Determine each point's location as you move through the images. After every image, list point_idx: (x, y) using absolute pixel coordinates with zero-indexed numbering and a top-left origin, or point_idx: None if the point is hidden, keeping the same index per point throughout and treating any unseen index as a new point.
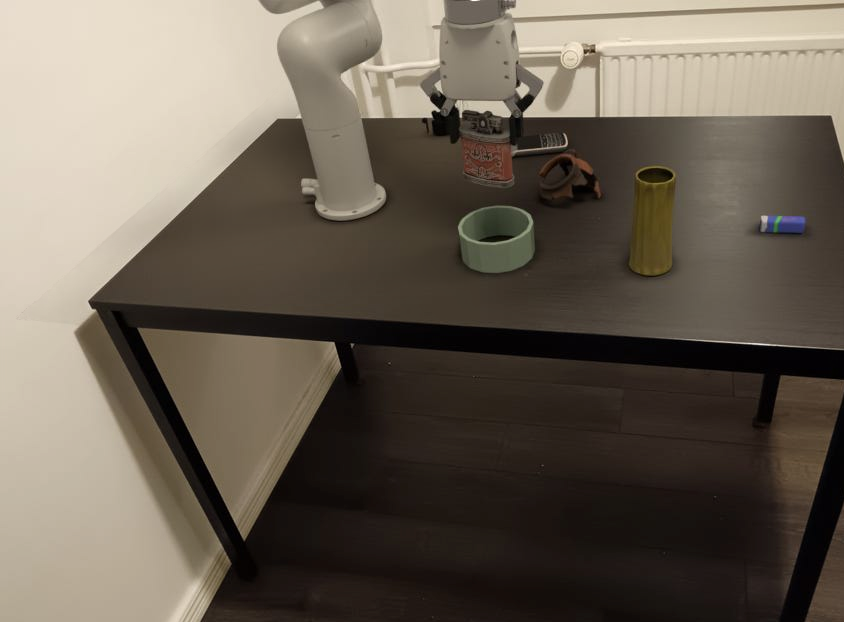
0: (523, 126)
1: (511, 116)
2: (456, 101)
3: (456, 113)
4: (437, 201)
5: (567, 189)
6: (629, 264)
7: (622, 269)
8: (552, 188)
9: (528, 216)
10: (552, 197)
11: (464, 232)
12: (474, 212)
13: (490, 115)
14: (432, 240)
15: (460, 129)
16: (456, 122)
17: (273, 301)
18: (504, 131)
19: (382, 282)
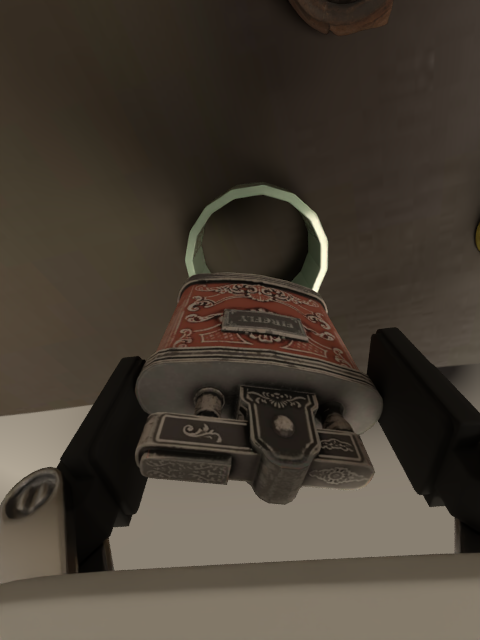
0: (445, 378)
1: (436, 492)
2: (72, 526)
3: (115, 476)
4: (35, 72)
5: (381, 11)
6: (478, 241)
7: (461, 247)
8: (339, 25)
9: (313, 222)
10: (328, 30)
11: (198, 266)
12: (197, 230)
13: (307, 471)
14: (131, 238)
15: (155, 412)
16: (135, 449)
17: (42, 399)
18: (350, 401)
19: (133, 347)
